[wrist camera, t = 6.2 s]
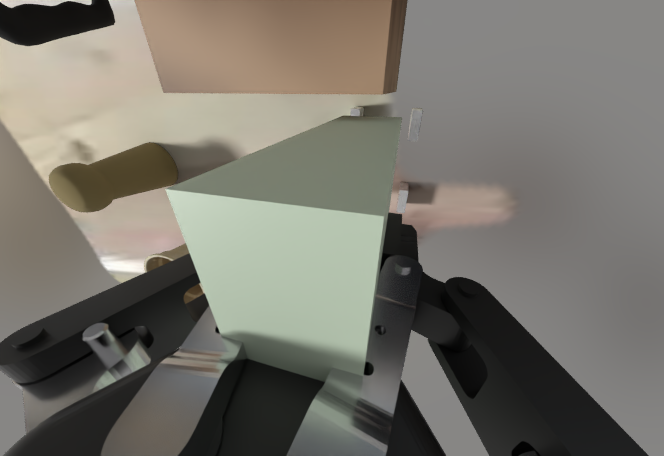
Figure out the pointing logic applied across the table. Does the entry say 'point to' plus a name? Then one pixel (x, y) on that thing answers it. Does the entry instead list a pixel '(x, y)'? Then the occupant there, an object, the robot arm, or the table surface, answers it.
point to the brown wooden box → (275, 45)
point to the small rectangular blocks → (412, 136)
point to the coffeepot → (52, 21)
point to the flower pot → (169, 256)
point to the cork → (113, 177)
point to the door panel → (296, 243)
